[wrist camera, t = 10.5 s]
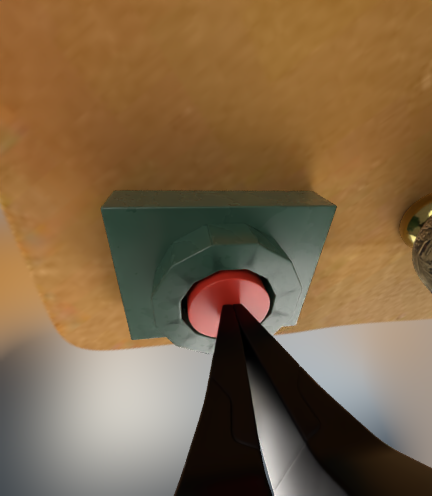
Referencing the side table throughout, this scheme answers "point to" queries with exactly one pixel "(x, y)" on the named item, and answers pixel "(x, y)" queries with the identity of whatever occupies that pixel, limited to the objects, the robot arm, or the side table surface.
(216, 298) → the button
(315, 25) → the side table surface
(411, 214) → the cup
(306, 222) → the green block with collar
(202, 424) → the robot arm
